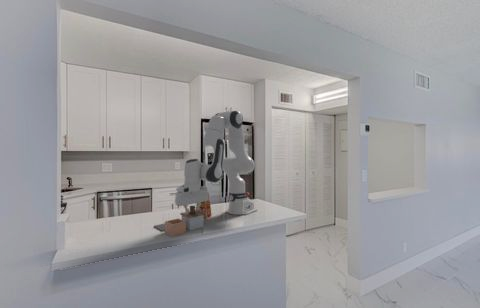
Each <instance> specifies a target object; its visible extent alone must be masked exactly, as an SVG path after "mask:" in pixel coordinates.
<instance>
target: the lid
mask: <svg viewBox="0 0 480 308" xmlns="http://www.w3.org/2000/svg"><path fill="white" fill-rule="evenodd" d="M179 214H180V215H181V216H182V215H183V216H185V217H188V218H193V217H197V216H201V215H205V213H202V212H199V211H196V205H190V206H189V212H186V211H184V212H180V213H179Z"/></svg>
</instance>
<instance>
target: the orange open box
mask: <svg viewBox="0 0 480 308" xmlns="http://www.w3.org/2000/svg"><path fill="white" fill-rule="evenodd" d="M164 223H165V231H164V234H167V235H169V236H170V237H174V236H175V237H176V236H178V235H182V234H185V233H187V229H186V222H185V221H183V220H182V218H175V219H170V220H165V221H164Z"/></svg>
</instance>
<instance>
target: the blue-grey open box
mask: <svg viewBox="0 0 480 308" xmlns="http://www.w3.org/2000/svg"><path fill="white" fill-rule="evenodd" d="M181 220H183V221H185V222H186V230H188V231H193V230H196V229H201V228H204V220H203V215H201V216H197V217H193V218H188V217H185V216H183V215H181ZM200 227H201V228H200Z"/></svg>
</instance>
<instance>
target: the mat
mask: <svg viewBox="0 0 480 308" xmlns="http://www.w3.org/2000/svg"><path fill="white" fill-rule="evenodd" d="M153 227H154V228H155V229H157V230H159V231H160V232H165V222H164V223H159V224H155V225H153Z"/></svg>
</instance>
